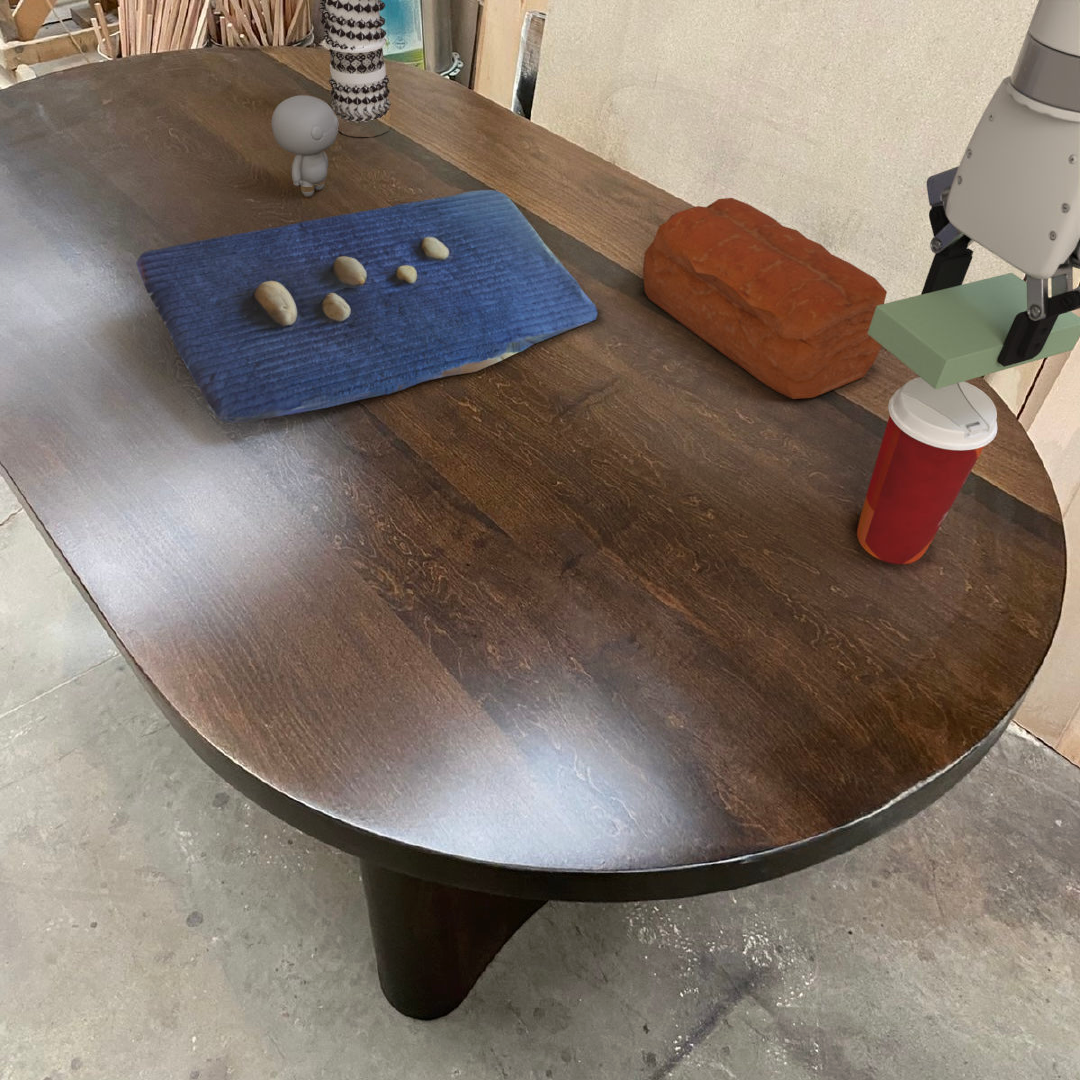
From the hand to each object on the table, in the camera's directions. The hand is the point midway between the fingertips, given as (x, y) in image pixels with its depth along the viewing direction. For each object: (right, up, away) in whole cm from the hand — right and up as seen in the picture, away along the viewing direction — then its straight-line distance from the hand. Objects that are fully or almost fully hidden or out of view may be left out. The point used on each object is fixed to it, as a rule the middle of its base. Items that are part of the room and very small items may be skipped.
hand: (974, 329), depth 70 cm
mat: (-50, +9, +37) cm, 63 cm away
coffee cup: (-1, -15, +15) cm, 22 cm away
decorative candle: (-58, +47, +75) cm, 105 cm away
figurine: (-62, +31, +59) cm, 90 cm away
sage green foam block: (0, -1, +1) cm, 1 cm away
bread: (-8, +8, +39) cm, 40 cm away
